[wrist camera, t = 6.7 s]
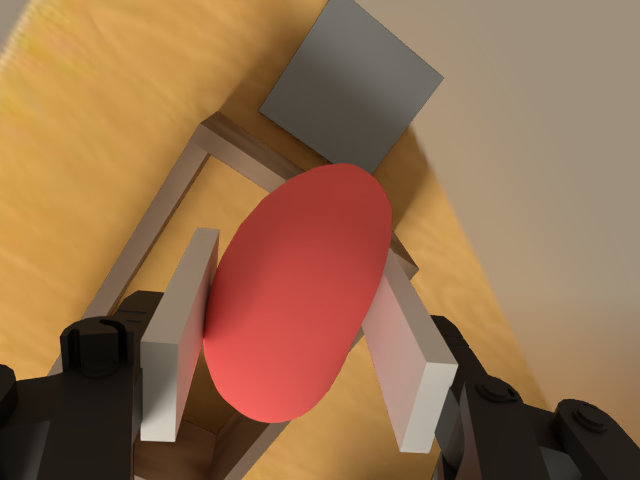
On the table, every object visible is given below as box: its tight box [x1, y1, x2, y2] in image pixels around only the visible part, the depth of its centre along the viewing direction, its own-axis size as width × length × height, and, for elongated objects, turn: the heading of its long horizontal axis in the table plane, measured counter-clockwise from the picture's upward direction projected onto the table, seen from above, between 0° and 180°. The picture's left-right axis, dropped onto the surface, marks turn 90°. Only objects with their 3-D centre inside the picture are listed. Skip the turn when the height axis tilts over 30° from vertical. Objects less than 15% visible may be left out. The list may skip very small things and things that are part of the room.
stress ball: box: [203, 163, 392, 423], centre depth 14 cm, size 5×9×6 cm
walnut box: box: [47, 111, 419, 480], centre depth 28 cm, size 14×23×6 cm, turn 144°
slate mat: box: [259, 0, 444, 175], centre depth 26 cm, size 8×8×1 cm
